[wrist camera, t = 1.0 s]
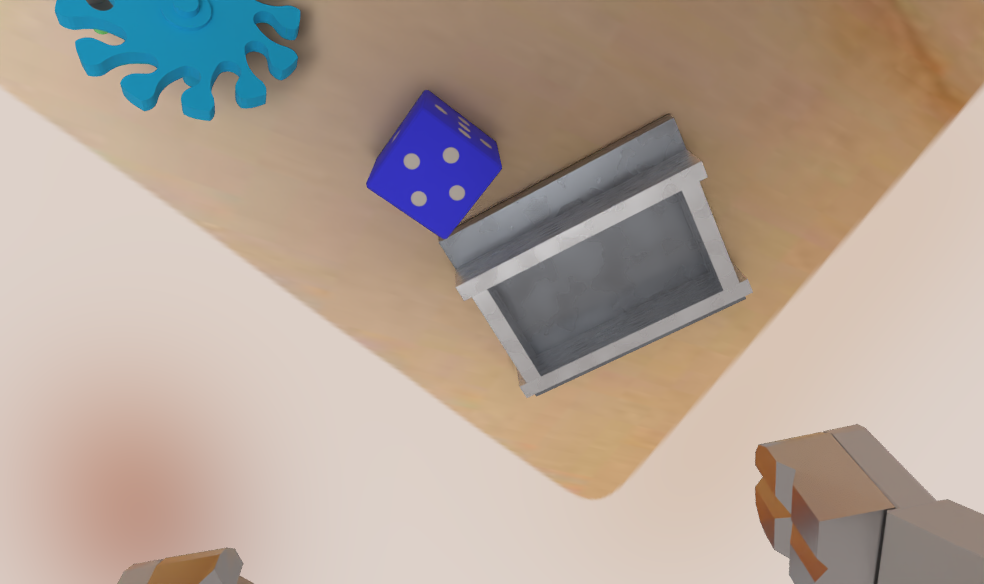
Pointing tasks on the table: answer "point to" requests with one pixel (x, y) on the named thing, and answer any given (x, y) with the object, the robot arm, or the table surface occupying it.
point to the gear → (183, 46)
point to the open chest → (597, 259)
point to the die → (435, 166)
